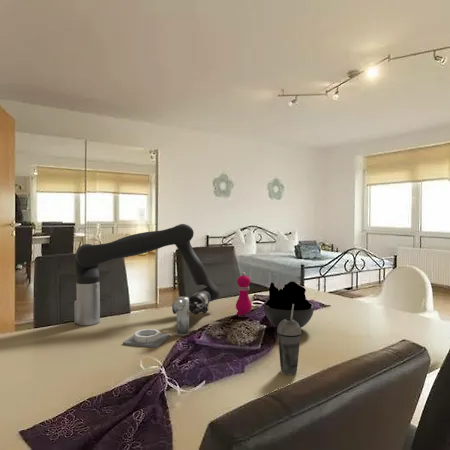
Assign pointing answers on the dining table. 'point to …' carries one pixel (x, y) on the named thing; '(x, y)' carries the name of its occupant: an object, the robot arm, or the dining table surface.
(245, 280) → the pepper mill
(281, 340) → the beverage cup
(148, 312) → the dining table surface
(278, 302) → the bowl of black rocks
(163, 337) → the plate
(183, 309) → the duct elbow
